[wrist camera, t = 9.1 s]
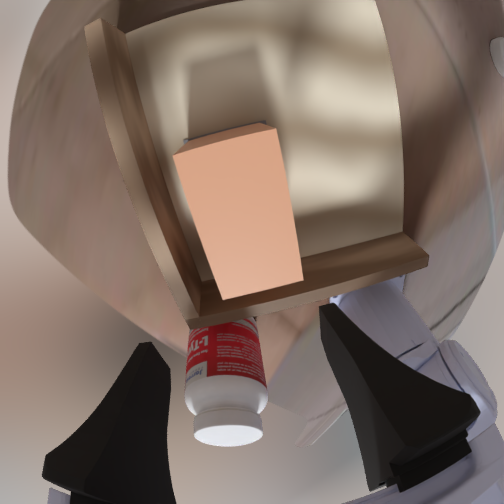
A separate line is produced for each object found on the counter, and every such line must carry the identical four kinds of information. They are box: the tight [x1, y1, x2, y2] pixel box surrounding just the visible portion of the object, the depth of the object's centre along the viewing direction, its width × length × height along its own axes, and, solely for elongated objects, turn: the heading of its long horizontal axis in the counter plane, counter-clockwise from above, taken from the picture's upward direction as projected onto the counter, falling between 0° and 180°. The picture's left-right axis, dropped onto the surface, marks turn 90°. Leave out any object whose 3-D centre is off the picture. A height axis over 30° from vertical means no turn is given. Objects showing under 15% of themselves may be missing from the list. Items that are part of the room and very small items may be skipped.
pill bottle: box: [185, 317, 268, 446], centre depth 20 cm, size 6×6×11 cm
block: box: [173, 123, 303, 300], centre depth 15 cm, size 8×4×6 cm, turn 13°
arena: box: [84, 0, 429, 330], centre depth 15 cm, size 20×18×5 cm
